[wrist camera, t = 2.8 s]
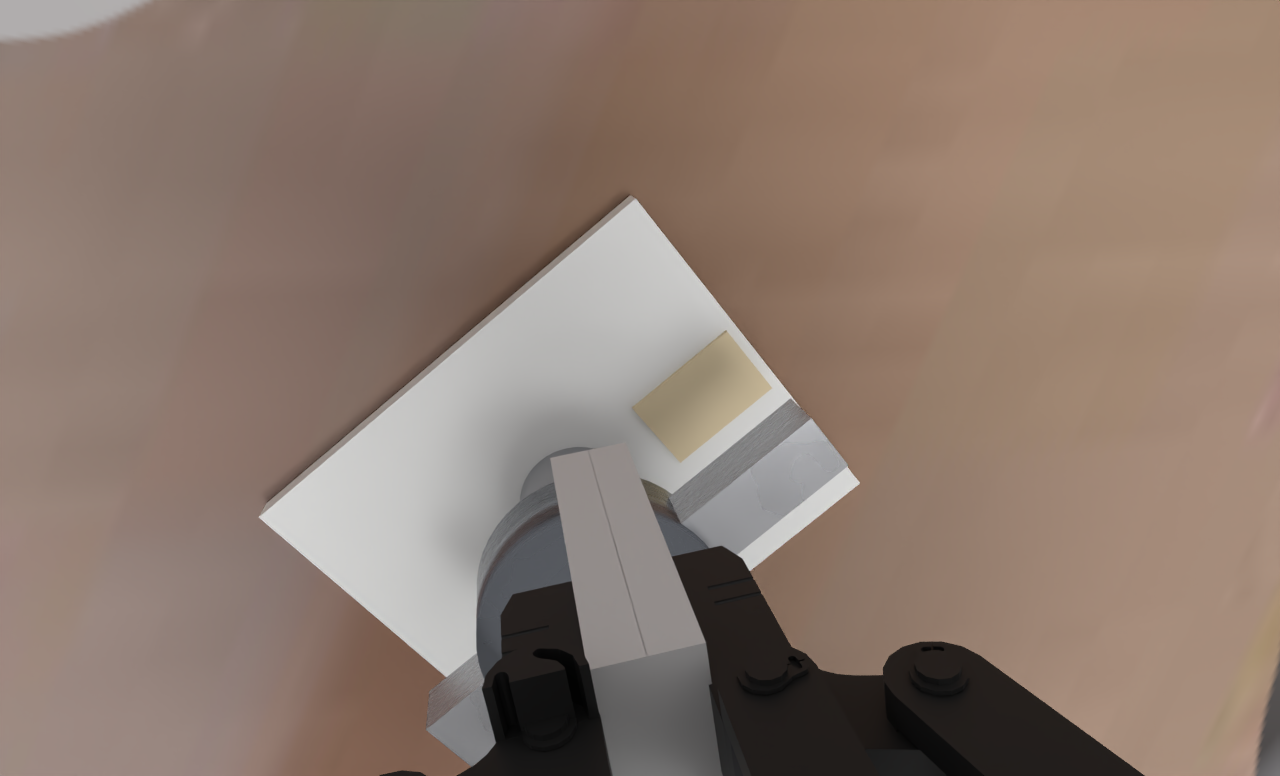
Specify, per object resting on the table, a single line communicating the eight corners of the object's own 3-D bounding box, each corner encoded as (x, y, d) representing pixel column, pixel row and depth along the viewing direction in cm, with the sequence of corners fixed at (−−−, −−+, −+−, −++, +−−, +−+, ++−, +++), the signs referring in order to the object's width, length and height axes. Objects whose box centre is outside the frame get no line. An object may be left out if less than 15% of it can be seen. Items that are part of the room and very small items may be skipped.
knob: (528, 761, 30) (533, 830, 27) (368, 626, 27) (354, 687, 24) (864, 493, 29) (906, 536, 26) (732, 326, 26) (762, 353, 23)
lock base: (527, 728, 38) (541, 933, 29) (266, 503, 33) (179, 663, 23) (848, 471, 37) (973, 597, 27) (630, 195, 31) (692, 234, 22)
